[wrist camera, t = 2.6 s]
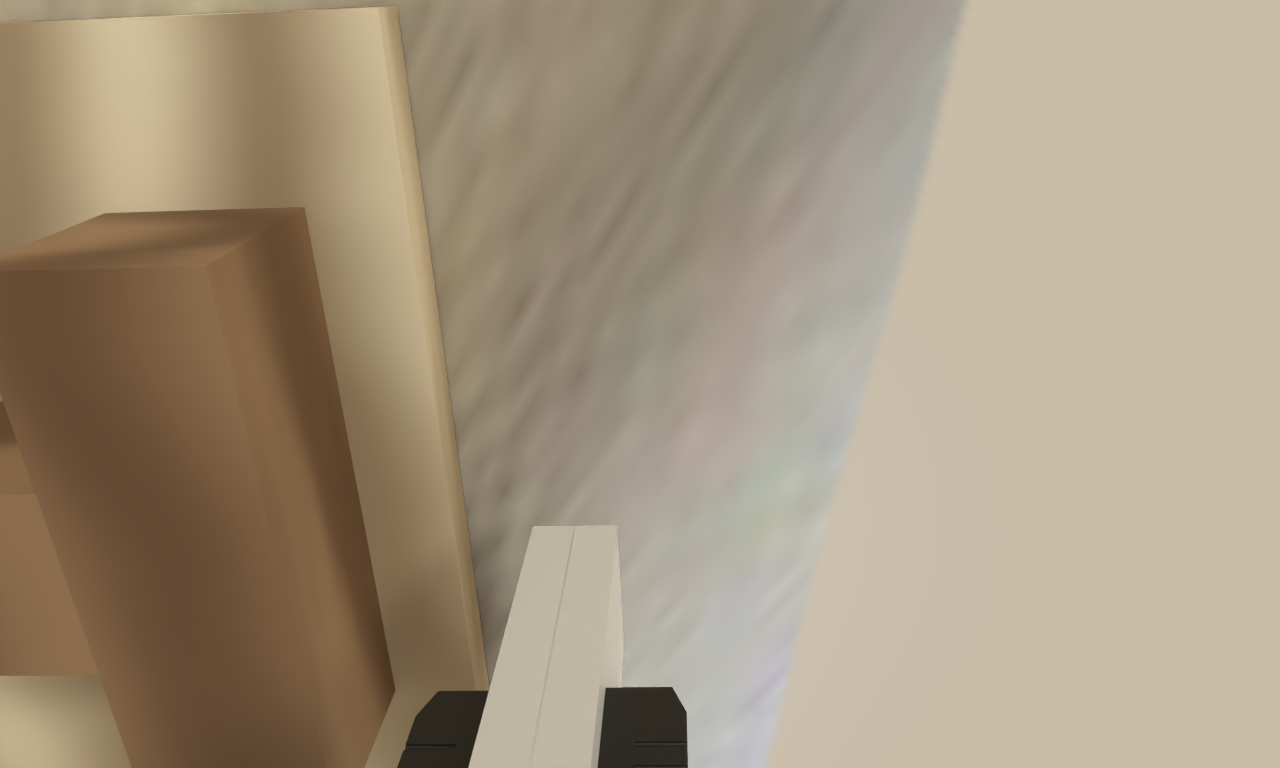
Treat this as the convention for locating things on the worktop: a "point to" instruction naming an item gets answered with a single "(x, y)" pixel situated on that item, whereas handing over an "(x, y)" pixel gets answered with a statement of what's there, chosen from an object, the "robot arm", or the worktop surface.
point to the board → (346, 268)
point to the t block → (187, 491)
